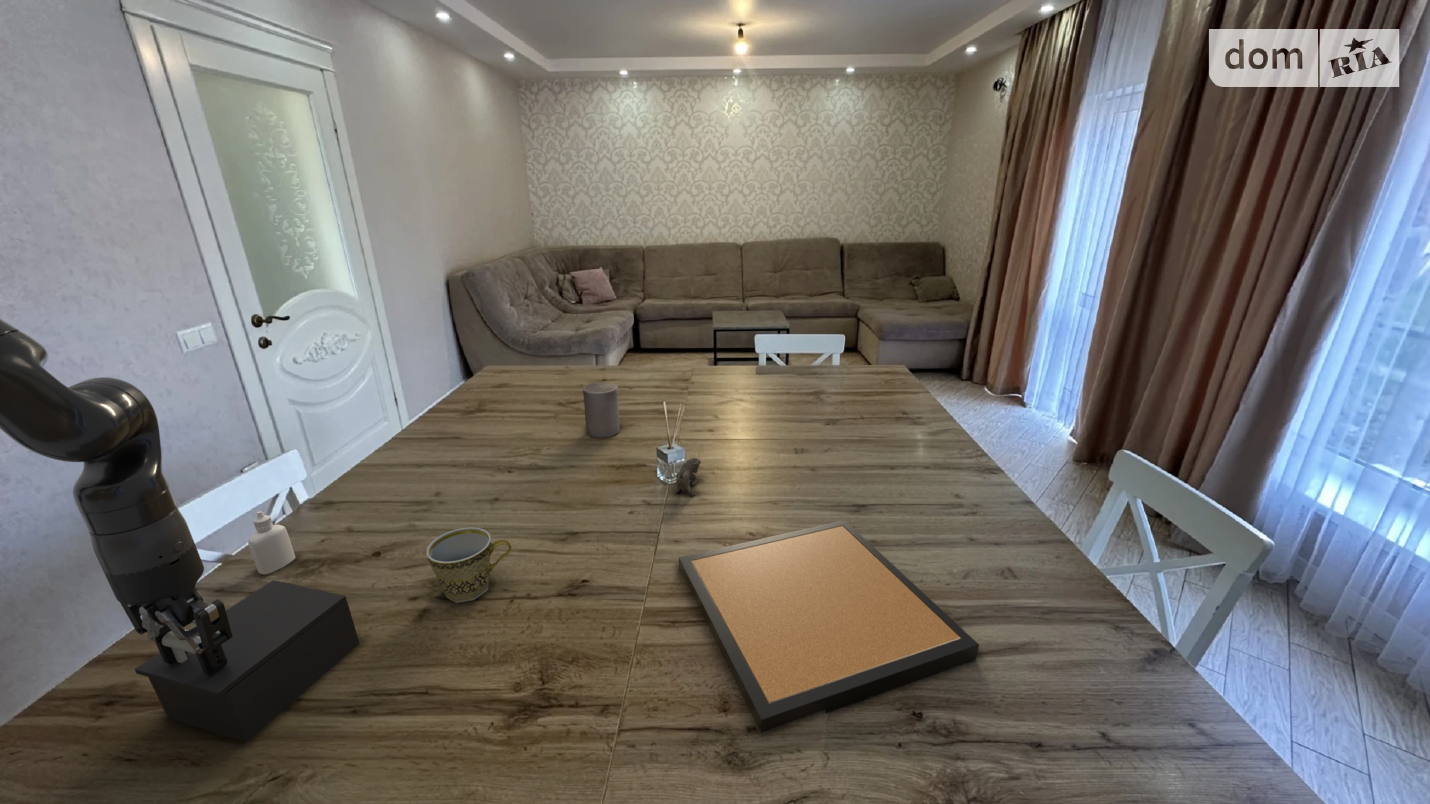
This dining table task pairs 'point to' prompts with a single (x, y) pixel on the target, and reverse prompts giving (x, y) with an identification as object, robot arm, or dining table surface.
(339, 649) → the black box
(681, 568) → the cork board
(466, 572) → the ceramic cup
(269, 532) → the eye dropper bottle
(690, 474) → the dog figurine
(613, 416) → the pillar candle
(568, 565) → the dining table surface
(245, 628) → the box lid
